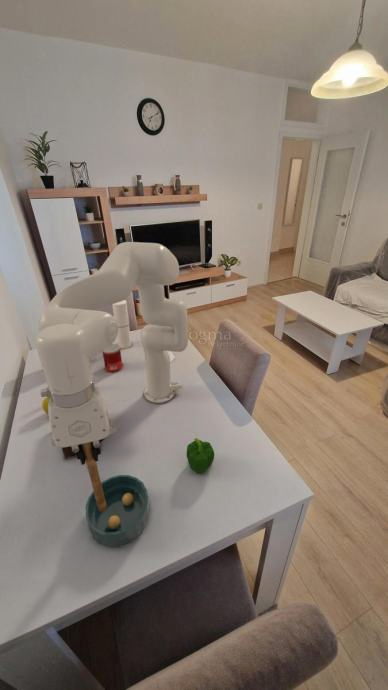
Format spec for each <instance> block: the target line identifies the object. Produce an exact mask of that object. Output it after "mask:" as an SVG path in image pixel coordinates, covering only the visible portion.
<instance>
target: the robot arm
mask: <svg viewBox="0 0 388 690" xmlns="http://www.w3.org/2000/svg"><path fill="white" fill-rule="evenodd" d="M179 275H180V265H179V261H178V259H177V257H176V256H175V255H174V254H173V253H172V252H171V250H170V249H168V248H167V247H166V246H164V245H163V244H161V243H158V242H157V243H156V242H138V241H125V242H121V243H119V244H117V245H116V246H115V247H114V248H113V250H112V251H111V252H110V254H109V256H108V257H107V258H106V259H105V261H104V262H103V263H102V265H101V266H100V268H99V269H98V271H96V272H95V273H92V274H90V275H88V276H85V277H83V278H81V279H79V280H77V281H75V282H72V283H71V284H69V285H67V286H65V287H64V288H62V289H61V290H60V291H58V292H57V293H56V294H55V296H53V298H52V299H51V300H50V301H49V303H48V304H47V305H46V306H45V308H44V309H43V311H42V313H41V315H40V318H39V321H38V333H37V334H36V336H35V340H34V341H35V342H34V344H35V349H36V352H37V355H38V357H39V361H40V365H41V367H42V371H43V375H44V377H45V381H46V385H47V387H45V388H44V389H41V390H40V397H41V398H47V397H49V398H50V400H49V403H48V413H49V414H48V420H49V426H50V430H51V435H52V439H51V446H54V447H57V448H62V447H66V448H69V449H72V451H73V452H75V453H76V456H75V457H76V459H77V460H78V461H79V460H80V464H81V466H85V465H86V460H85V456H84V452H83V449H82V445H81V444H83V443H88V442H92V453H93V457H94V461H96V463H98V462H99V456H100V455H102V448H101V444H102V442H104V441H105V440H106V438H107V437H109V436H111V435H113V434H115V433H116V426H115V424H114V423H113V421H111V420H110V418H109V413H108V409H107V406H106V402H105V400H104V397H103V395H102V393H101V391H100V389H99V387H97V386H96V385H95V379H94V374H93V369H92V364H91V359H92V358H94V357H95V356H97V355H98V354H100V353H103V352H102V351H103V350H105V349H107V348H108V347H109V346H110V345H111V344H114V342H115V341H116V340H117V334H118V323H117V321H116V319H115V317H114V315H113V314H111V313H109V312H107V311H102V310H94V309H96V308H101V307H106V306H111V305H112V304H115V303H118V302H121V301H123V300H127V299H128V298H129V297H130V296H131V294H132V291H133V289H134V288H135V287H136V289H137V292H138V298H139V306H140V313H141V317H142V320H143V322H144V323H145V324H146V325H144V326H143V327H142V329H141V332H140V342H141V346H142V348H143V352H144V361H145V372H146V385H147V386H146V388H145V389H144V392H143V393H144V398H145V400H147V401H148V402H150V403H153V404H163V403H166V402H169V401H170V400H172V399H173V397H174V396H175V391H176V390H179V389H182V388H183V384H182V383H178V381H171V359H170V354H169V352H173V353H182V352H184V351H185V350H186V349H187V347H188V343H189V324H188V323H189V322H188V319H189V318H188V308H187V305H186V303H185V302H184V301H182V300H180V299H174V298H173V299H172V298H166V296H165V286H172V285H174V284H175V283H176V282H177V281H178V279H179Z"/></svg>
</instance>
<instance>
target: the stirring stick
mask: <svg viewBox="0 0 388 690" xmlns="http://www.w3.org/2000/svg"><path fill="white" fill-rule="evenodd" d="M81 445H82V449H83V452H84V456H85V465H86V468H87V471H88V475H89V479H90V483H91V486H92V492H93V491H94V495H95V498H96V502H97V506H98V510H99V511H101V512H102V511H104V510H105V509H106V508H107V505H106V501H105V497H104V492H103V488H102V484H101V483H102V480H101V476H100V472H99V468H98V462H96V461H94V457H93V453H92V442H88V443H83V444H81Z"/></svg>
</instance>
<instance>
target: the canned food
mask: <svg viewBox="0 0 388 690" xmlns="http://www.w3.org/2000/svg"><path fill="white" fill-rule="evenodd" d="M101 353H102V358H103V361H104V362H103V363H104V368H105V371H107V372H109V373H115V372H119V371H120V370H122V369H123V361H122V352H121V348H120V346H119V345H118V343H117V344H116V343H112V344H111V345H110V346H109V347H108V348H107V349H105V350H103V351H102V352H101Z"/></svg>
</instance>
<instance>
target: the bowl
mask: <svg viewBox="0 0 388 690" xmlns="http://www.w3.org/2000/svg"><path fill="white" fill-rule="evenodd" d="M101 484H102V488H103V492H104V497H105V501H106V505H107V508H106V509H105V510H104V511H102V512H101V511H99V510H98V506H97V502H96V498H95V495H94V491H93V490H92V491H91V494H90V495H89V496H88V499H87V502H86V504H85V519H86V522H87V526H88V529H89V531H90V534H91V536H92V538H93V539H94V540H95V541H96V542H97V544H99V545H102V546H104V547H106V548H118V547H122V546H124V545H128V544H129V543H130V542H132V541H133V540H135V539H137V537H139V535H140V534H141V533H142V532H143V530H144V529H145V527H146V525H147V522H148V520H149V516H150V502H149V495H148V494H149V493H148V490H147V488H146V486H145V485H144V482H143V481H141V480H140V479H138V477H135V476H132V475H129V474H119V475H115V476H111V477H109V478H107V479H105V480H103V481H101ZM126 493H131V494H132V495H133V497H134V500H133V502H132V504H131V505H128V506H126V505H124V504H123V502H122V498H123V496H124V495H125V494H126ZM114 515H116V516H118V517H119V519H120V524H119V526H118V528H116V529H114V530H112V529H110V528H109V527H108V520H109V518H110V517H111V516H114Z"/></svg>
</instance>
